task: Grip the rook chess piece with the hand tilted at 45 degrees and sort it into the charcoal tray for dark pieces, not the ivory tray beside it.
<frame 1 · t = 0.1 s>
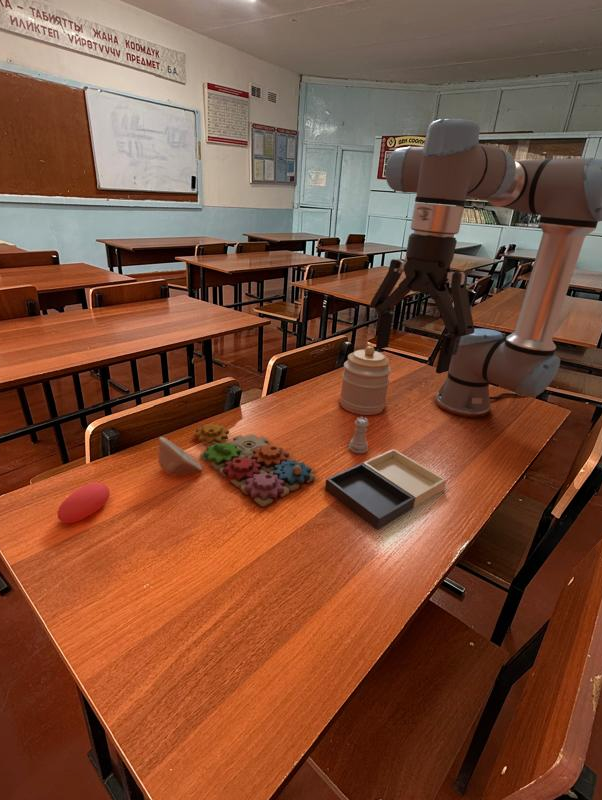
hand: (410, 359, 78), 28 cm above the table, tool pointing down, fingers open, 13 cm apart
jar: (361, 406, 124), on the table
stress ball: (87, 512, 77), on the table
light tray: (401, 480, 92), on the table
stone: (181, 469, 90), on the table
dark tray: (367, 498, 86), on the table
gear puzzle: (245, 459, 95), on the table
rook chess piece: (357, 450, 102), on the table
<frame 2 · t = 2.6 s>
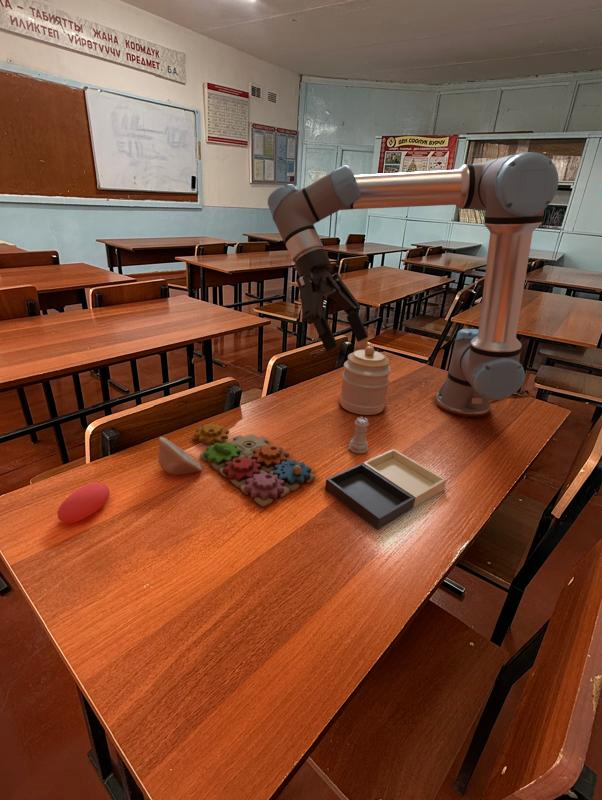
hand: (348, 344, 96), 24 cm above the table, tool tilted 40°, fingers open, 13 cm apart
nothing on the table moved.
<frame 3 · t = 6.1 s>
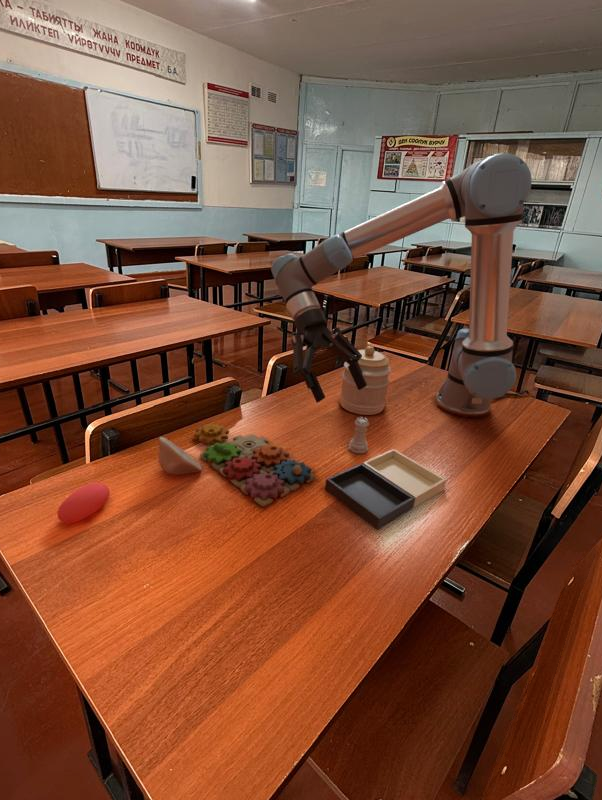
hand: (342, 393, 102), 12 cm above the table, tool tilted 45°, fingers open, 13 cm apart
nothing on the table moved.
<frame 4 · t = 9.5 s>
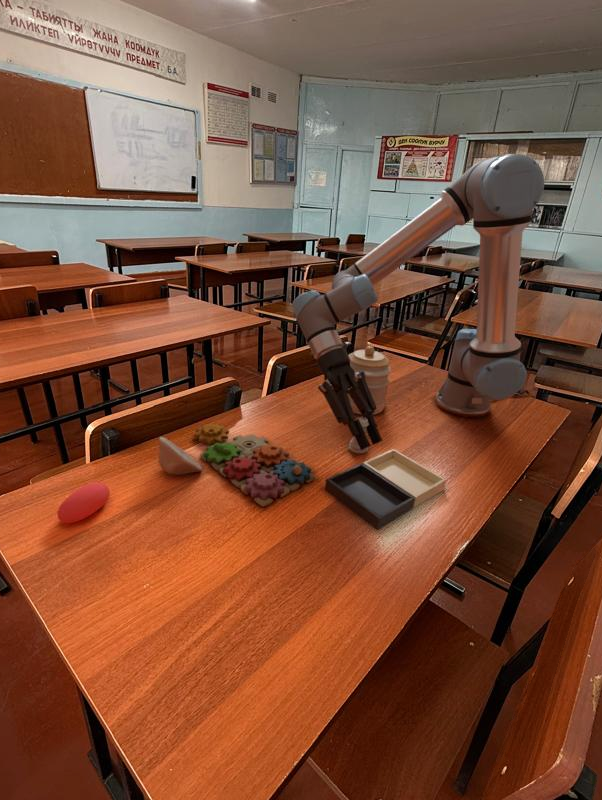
hand: (371, 445, 98), 3 cm above the table, tool tilted 45°, fingers closed on rook chess piece, 3 cm apart
rook chess piece: (357, 450, 102), on the table, touching gripper
everything else where it was.
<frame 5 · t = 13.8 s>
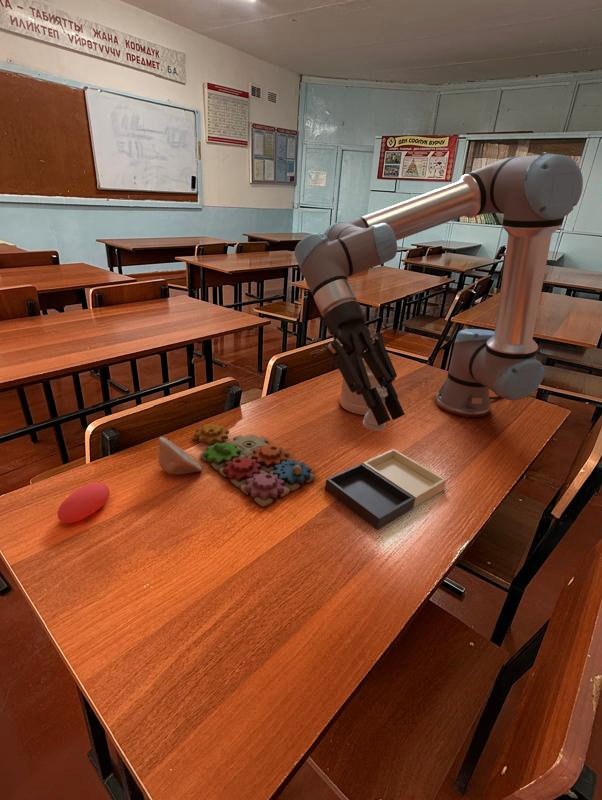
hand: (391, 419, 80), 17 cm above the table, tool tilted 45°, fingers closed on rook chess piece, 3 cm apart
rook chess piece: (373, 426, 84), point 14 cm above the table, touching gripper
everything else where it was.
when the fingers open (4 cm above the table, at t = 18.2 s): rook chess piece stays where it is, resting on dark tray.
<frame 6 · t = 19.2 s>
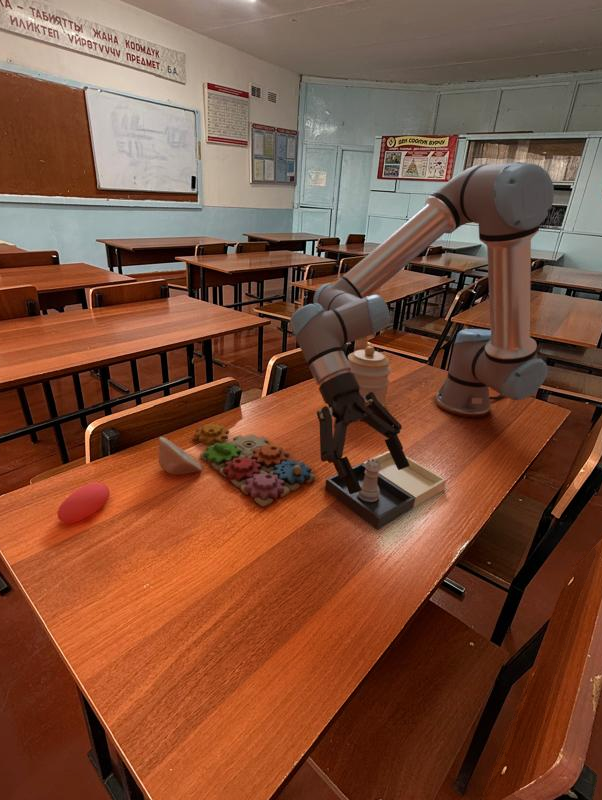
hand: (381, 479, 82), 6 cm above the table, tool tilted 45°, fingers open, 13 cm apart
rook chess piece: (367, 497, 86), resting on dark tray
everything else where it was.
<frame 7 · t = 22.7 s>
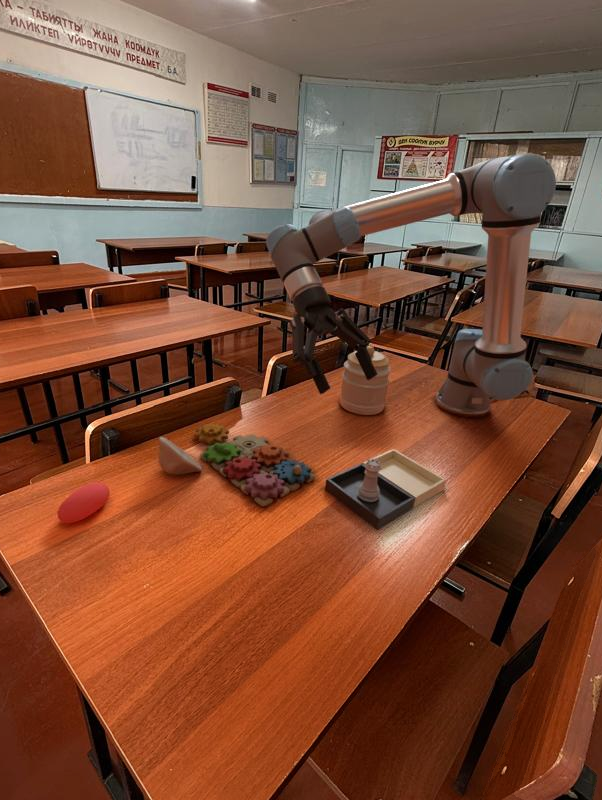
hand: (350, 384, 88), 19 cm above the table, tool tilted 45°, fingers open, 13 cm apart
nothing on the table moved.
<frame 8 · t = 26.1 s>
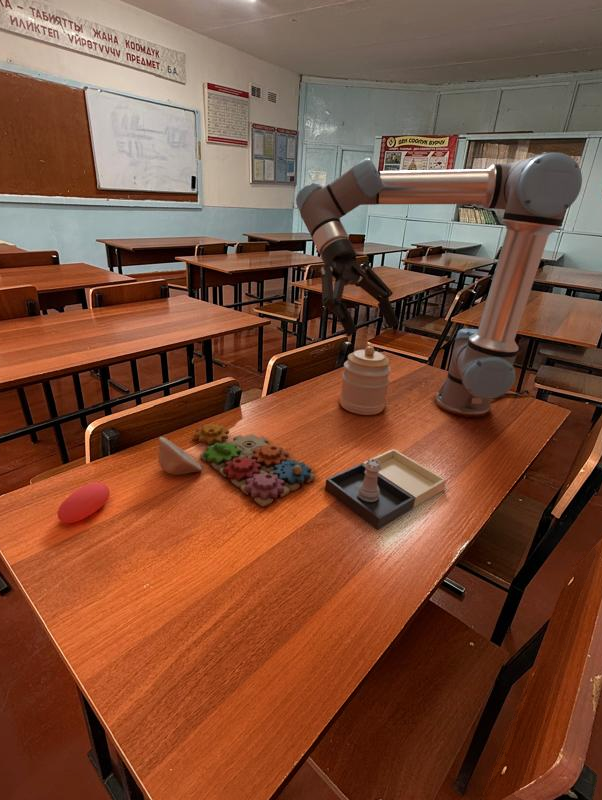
hand: (374, 329, 96), 28 cm above the table, tool tilted 45°, fingers open, 13 cm apart
nothing on the table moved.
at the end: rook chess piece inside the target area in the dark tray (0.1 cm from its centre), point 0.3 cm above the dark tray's base; rook chess piece tilted 0°; the gripper is holding nothing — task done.
